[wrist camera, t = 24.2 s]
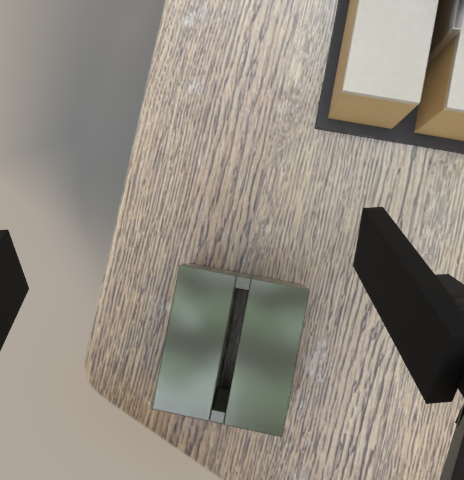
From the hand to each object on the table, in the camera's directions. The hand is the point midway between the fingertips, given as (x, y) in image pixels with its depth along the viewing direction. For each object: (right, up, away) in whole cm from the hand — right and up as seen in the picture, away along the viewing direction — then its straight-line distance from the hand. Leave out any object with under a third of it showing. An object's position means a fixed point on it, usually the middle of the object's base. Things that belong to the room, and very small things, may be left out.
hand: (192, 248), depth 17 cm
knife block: (+2, -9, +25) cm, 26 cm away
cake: (+19, +17, +25) cm, 35 cm away
